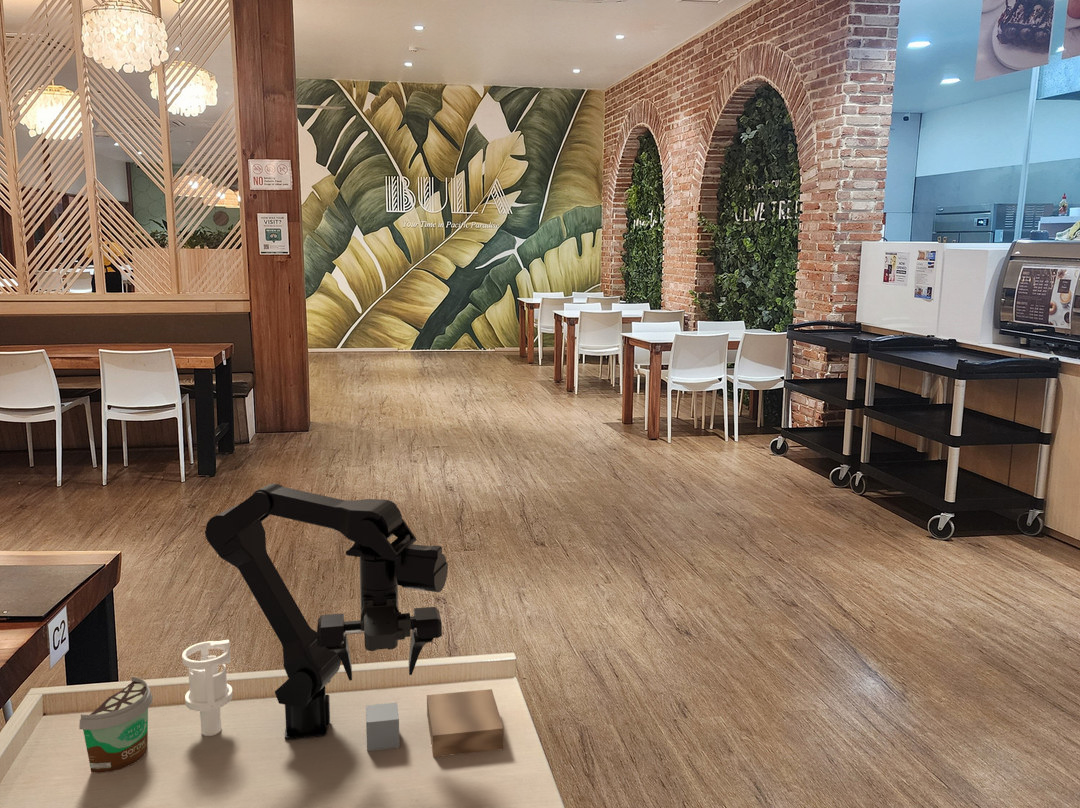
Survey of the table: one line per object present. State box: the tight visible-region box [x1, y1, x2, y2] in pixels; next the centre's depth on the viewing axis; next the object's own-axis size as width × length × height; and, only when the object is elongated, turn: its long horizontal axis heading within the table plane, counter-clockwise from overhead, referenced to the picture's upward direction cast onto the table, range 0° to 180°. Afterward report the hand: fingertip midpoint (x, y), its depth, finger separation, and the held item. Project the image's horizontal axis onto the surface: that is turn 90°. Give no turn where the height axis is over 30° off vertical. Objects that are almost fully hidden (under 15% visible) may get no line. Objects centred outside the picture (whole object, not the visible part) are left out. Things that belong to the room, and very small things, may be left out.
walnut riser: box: [426, 688, 504, 758], centre depth 138 cm, size 11×12×4 cm
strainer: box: [181, 639, 234, 737], centre depth 136 cm, size 7×7×15 cm
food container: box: [78, 676, 153, 774], centre depth 130 cm, size 12×6×10 cm, turn 168°
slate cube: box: [365, 702, 400, 752], centre depth 135 cm, size 5×5×5 cm
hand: (380, 676), depth 134 cm, fingers open, 9 cm apart
